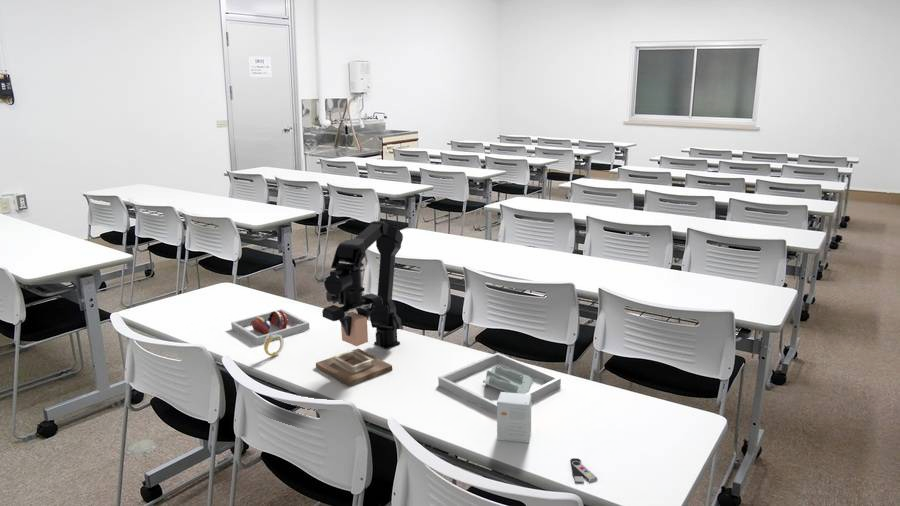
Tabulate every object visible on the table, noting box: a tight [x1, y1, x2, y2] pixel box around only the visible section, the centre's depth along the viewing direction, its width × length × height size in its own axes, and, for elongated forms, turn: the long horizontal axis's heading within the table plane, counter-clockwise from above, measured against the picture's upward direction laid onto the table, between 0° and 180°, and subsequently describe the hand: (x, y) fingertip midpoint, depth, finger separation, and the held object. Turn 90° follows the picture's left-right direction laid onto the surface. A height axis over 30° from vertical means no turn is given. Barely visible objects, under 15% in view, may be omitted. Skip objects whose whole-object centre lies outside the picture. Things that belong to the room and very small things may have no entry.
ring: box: [263, 331, 285, 357], centre depth 208 cm, size 7×3×8 cm, turn 137°
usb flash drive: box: [569, 457, 598, 483], centre depth 146 cm, size 9×5×1 cm, turn 175°
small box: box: [496, 391, 532, 444], centre depth 160 cm, size 8×6×10 cm
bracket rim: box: [437, 352, 562, 415], centre depth 187 cm, size 25×25×2 cm
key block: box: [340, 311, 369, 347], centre depth 195 cm, size 7×4×8 cm, turn 46°
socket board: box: [315, 347, 393, 387], centre depth 199 cm, size 16×18×4 cm
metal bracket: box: [482, 364, 535, 394], centre depth 186 cm, size 14×6×15 cm
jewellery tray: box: [230, 308, 310, 346], centre depth 231 cm, size 20×20×2 cm
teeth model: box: [250, 310, 288, 335], centre depth 231 cm, size 8×6×12 cm
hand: (354, 333), depth 196 cm, fingers closed on key block, 4 cm apart
